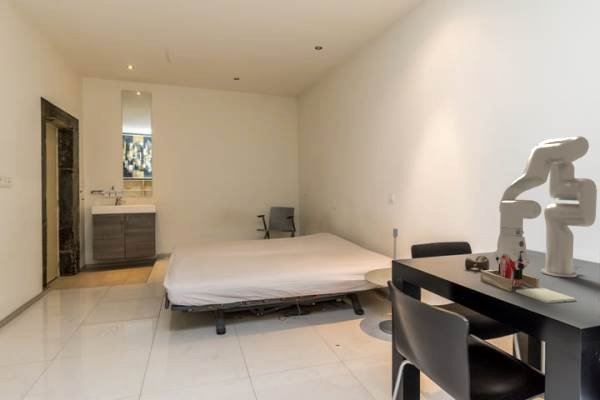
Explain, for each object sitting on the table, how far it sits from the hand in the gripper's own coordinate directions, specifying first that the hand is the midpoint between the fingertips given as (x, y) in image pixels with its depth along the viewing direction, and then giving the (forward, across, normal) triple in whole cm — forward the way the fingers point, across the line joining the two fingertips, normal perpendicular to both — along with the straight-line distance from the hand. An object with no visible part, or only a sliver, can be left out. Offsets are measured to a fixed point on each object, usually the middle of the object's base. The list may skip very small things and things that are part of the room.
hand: (510, 276), depth 130 cm
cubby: (+3, 0, 0) cm, 3 cm away
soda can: (+4, 0, 0) cm, 4 cm away
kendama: (+4, +26, -7) cm, 27 cm away
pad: (+3, -14, -1) cm, 14 cm away
